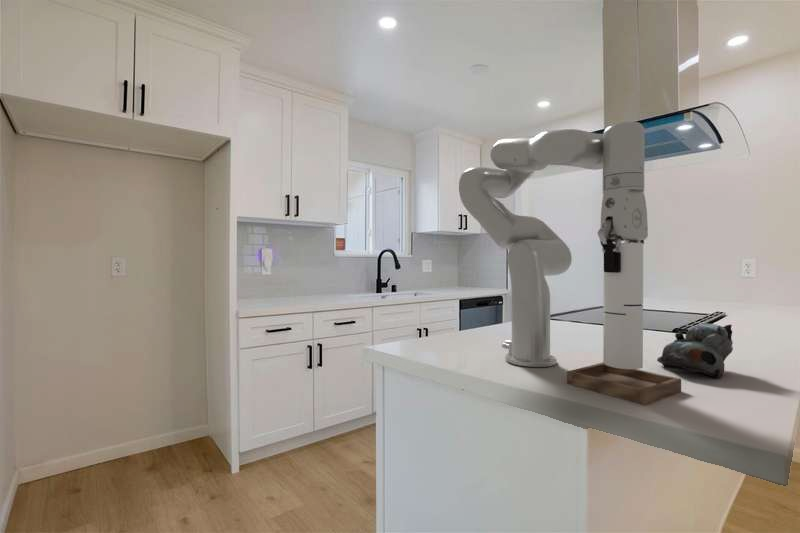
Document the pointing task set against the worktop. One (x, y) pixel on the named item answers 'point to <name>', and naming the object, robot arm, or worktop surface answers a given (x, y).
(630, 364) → the cylindrical container
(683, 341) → the dark grey lumpy shape
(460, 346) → the worktop surface
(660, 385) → the walnut tray
